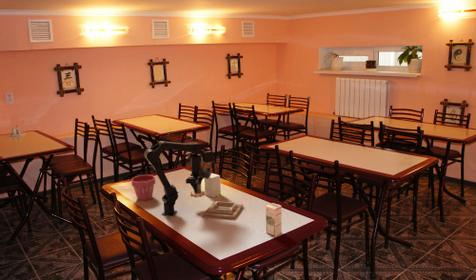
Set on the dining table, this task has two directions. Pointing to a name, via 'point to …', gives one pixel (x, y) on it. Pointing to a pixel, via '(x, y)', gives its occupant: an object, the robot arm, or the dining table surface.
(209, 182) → the supplement box
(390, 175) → the dining table surface
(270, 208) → the syrup box
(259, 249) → the dining table surface
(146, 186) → the plant pot
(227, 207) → the board
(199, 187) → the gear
